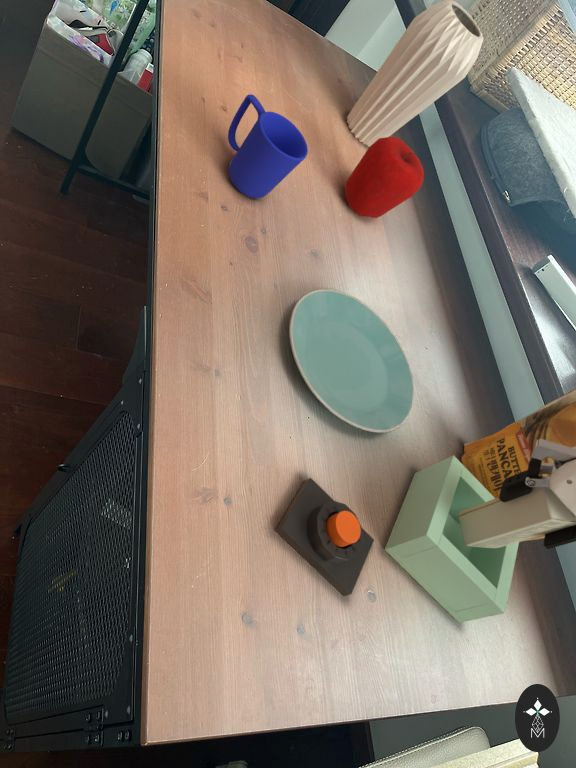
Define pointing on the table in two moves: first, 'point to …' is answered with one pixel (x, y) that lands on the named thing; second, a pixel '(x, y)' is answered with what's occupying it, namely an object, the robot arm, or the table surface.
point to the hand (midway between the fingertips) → (525, 514)
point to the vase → (417, 71)
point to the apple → (384, 178)
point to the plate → (351, 361)
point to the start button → (343, 528)
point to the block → (323, 537)
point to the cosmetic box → (514, 519)
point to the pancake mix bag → (521, 444)
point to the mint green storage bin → (450, 544)
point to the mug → (264, 151)
